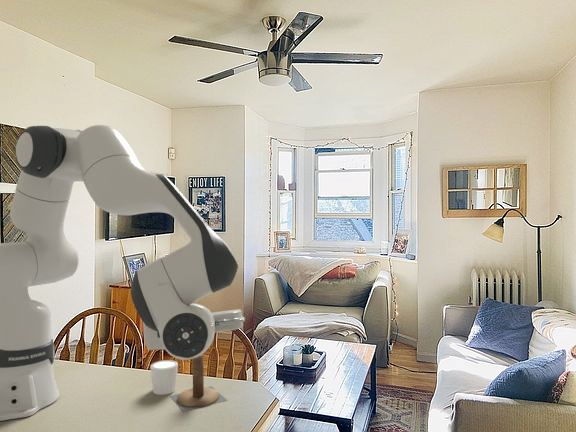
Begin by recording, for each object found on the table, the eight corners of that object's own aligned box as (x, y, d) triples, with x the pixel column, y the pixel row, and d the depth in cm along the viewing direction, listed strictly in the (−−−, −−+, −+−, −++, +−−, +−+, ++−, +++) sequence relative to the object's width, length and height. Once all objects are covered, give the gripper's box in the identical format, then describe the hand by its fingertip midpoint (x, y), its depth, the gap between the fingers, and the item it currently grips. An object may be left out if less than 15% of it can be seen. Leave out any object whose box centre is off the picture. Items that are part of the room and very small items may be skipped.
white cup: (170, 398, 107) (170, 370, 106) (145, 396, 108) (144, 368, 108) (182, 387, 113) (182, 360, 113) (158, 385, 115) (158, 358, 115)
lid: (185, 411, 99) (185, 365, 99) (171, 395, 107) (171, 353, 107) (225, 400, 104) (225, 357, 104) (209, 386, 112) (209, 346, 112)
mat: (183, 413, 98) (183, 411, 98) (169, 397, 107) (169, 396, 107) (227, 401, 104) (227, 400, 104) (211, 387, 113) (211, 386, 113)
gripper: (244, 303, 85) (241, 301, 98) (136, 317, 81) (148, 313, 95) (247, 336, 84) (244, 330, 97) (138, 351, 80) (150, 342, 94)
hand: (196, 321), depth 96 cm, fingers open, 8 cm apart
